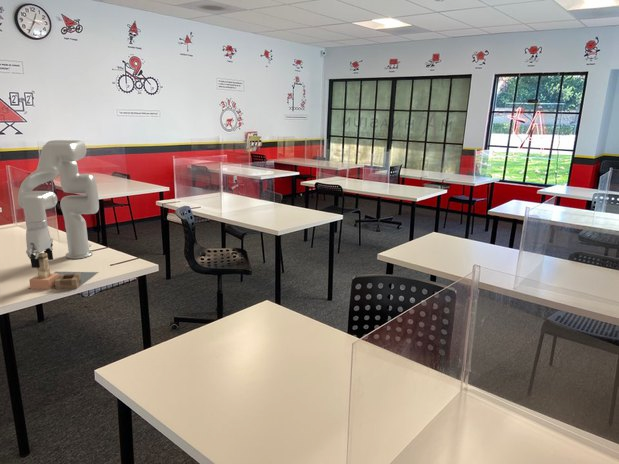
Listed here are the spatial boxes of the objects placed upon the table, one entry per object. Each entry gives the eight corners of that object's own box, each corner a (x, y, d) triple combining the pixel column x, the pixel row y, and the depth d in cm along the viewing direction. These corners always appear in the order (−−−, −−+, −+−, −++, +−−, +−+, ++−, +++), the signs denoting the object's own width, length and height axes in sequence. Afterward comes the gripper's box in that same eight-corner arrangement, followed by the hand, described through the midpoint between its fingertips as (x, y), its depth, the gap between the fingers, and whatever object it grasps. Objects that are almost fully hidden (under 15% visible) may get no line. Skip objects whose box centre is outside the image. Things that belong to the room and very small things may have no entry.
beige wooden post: (44, 283, 193) (39, 253, 190) (51, 284, 193) (47, 253, 190) (39, 286, 190) (34, 255, 186) (47, 286, 190) (42, 255, 186)
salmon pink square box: (41, 281, 196) (40, 273, 195) (60, 282, 196) (58, 273, 195) (30, 288, 188) (29, 279, 187) (49, 289, 188) (48, 280, 187)
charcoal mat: (55, 272, 208) (55, 271, 208) (98, 273, 208) (98, 272, 208) (28, 289, 188) (28, 288, 188) (76, 290, 188) (75, 289, 188)
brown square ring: (61, 283, 194) (59, 274, 193) (81, 281, 196) (80, 273, 195) (56, 290, 187) (54, 281, 186) (77, 288, 189) (75, 279, 188)
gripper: (39, 219, 193) (45, 256, 198) (14, 229, 177) (21, 270, 181) (57, 219, 193) (62, 257, 198) (33, 230, 177) (39, 270, 181)
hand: (42, 263), depth 190 cm, fingers open, 9 cm apart
